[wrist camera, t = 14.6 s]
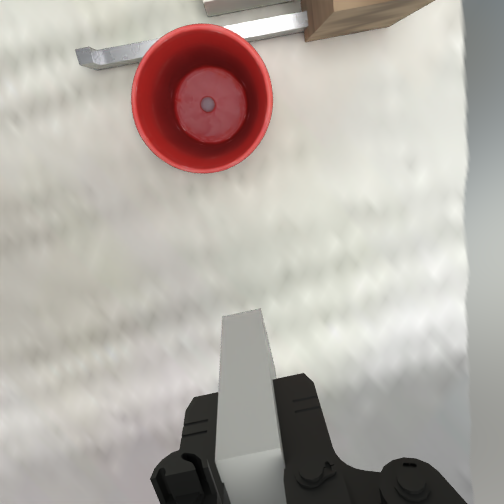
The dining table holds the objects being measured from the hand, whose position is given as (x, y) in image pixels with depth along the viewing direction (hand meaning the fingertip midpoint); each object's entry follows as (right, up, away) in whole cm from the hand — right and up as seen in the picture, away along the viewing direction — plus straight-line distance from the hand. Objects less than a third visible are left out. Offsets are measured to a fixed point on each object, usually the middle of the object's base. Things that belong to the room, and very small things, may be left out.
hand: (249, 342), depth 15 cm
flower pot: (-4, +18, +24) cm, 30 cm away
